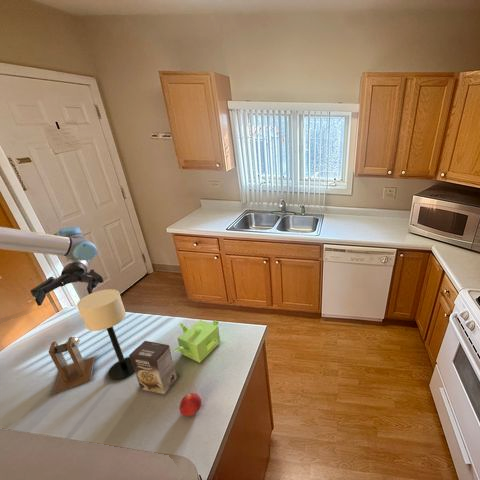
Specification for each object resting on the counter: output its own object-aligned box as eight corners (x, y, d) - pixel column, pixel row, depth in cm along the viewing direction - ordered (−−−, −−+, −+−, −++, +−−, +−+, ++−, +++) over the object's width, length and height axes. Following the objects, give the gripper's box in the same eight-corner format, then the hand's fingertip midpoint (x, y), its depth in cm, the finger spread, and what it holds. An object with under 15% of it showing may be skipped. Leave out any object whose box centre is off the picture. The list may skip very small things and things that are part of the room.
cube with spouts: (179, 372, 90) (173, 348, 85) (180, 343, 102) (175, 321, 97) (224, 358, 96) (220, 336, 91) (220, 333, 108) (217, 312, 103)
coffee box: (140, 391, 83) (127, 355, 76) (155, 374, 89) (144, 339, 82) (165, 396, 82) (154, 360, 75) (178, 378, 88) (169, 344, 81)
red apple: (185, 426, 74) (180, 409, 71) (179, 411, 78) (174, 393, 75) (205, 413, 78) (201, 396, 74) (199, 399, 81) (195, 382, 78)
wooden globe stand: (62, 369, 89) (46, 338, 83) (95, 359, 93) (82, 328, 87) (54, 395, 80) (35, 362, 74) (91, 382, 85) (76, 350, 79)
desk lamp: (103, 372, 88) (72, 299, 76) (135, 354, 96) (112, 285, 83) (113, 389, 83) (82, 314, 71) (147, 368, 91) (124, 297, 78)
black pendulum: (68, 348, 90) (66, 338, 90) (81, 344, 92) (79, 334, 92) (54, 357, 79) (52, 345, 79) (70, 352, 81) (67, 341, 81)
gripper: (114, 270, 115) (111, 295, 99) (37, 285, 102) (18, 316, 86) (110, 256, 112) (105, 278, 96) (30, 269, 99) (9, 298, 83)
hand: (64, 296), depth 91 cm, fingers open, 13 cm apart
